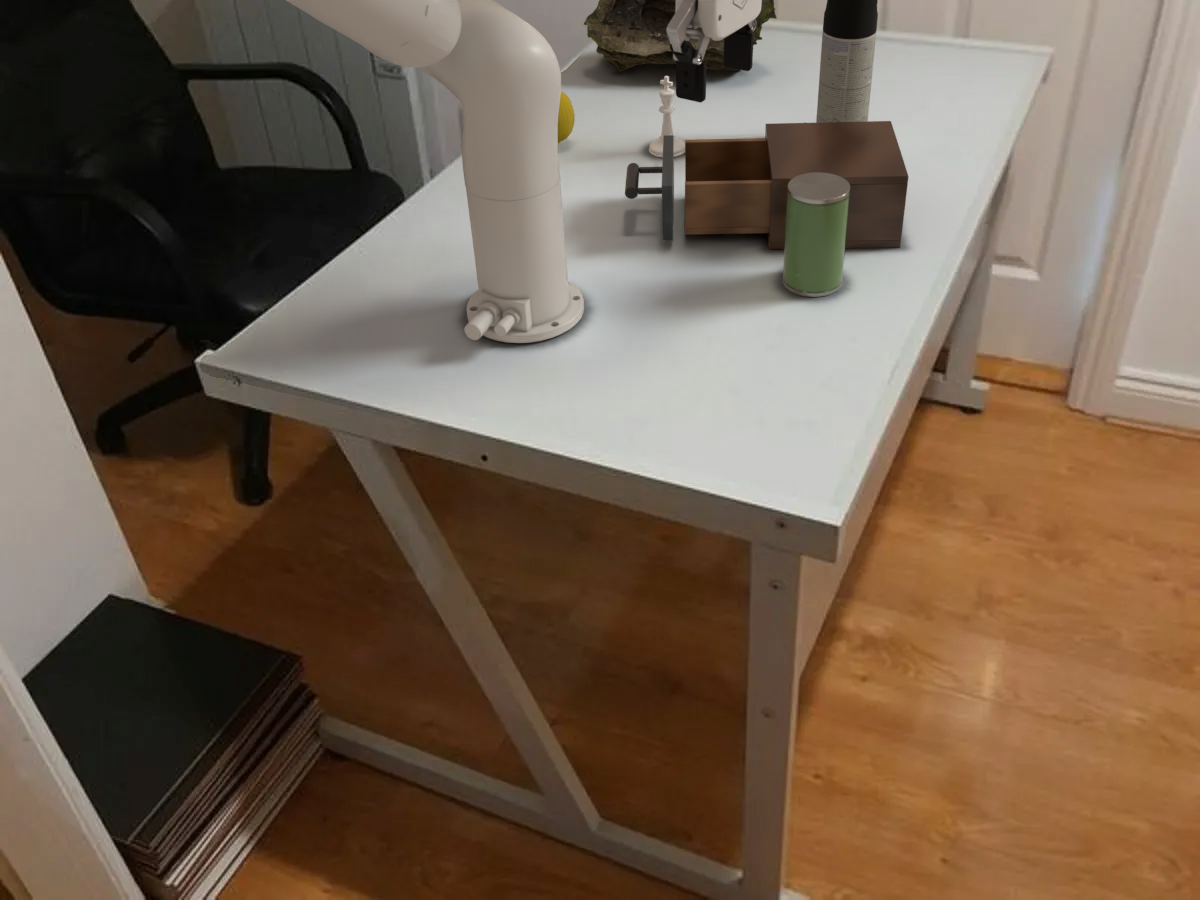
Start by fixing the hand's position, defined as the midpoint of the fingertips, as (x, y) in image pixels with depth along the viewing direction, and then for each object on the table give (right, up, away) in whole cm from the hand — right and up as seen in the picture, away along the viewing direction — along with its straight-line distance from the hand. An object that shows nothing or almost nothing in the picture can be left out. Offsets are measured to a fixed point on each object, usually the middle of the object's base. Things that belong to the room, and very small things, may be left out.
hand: (714, 83), depth 127 cm
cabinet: (+15, -10, +18) cm, 26 cm away
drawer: (0, -10, +19) cm, 21 cm away
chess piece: (-3, +2, +35) cm, 36 cm away
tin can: (+11, -20, +7) cm, 24 cm away
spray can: (+20, +2, +35) cm, 40 cm away
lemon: (-18, +3, +38) cm, 42 cm away
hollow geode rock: (0, +19, +57) cm, 60 cm away
